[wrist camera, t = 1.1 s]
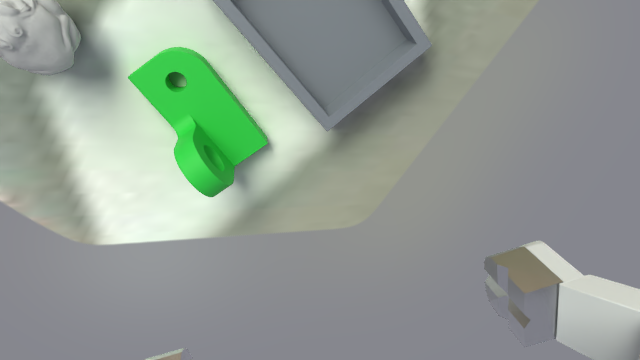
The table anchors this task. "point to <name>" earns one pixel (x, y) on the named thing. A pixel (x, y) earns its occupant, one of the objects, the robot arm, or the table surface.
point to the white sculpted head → (37, 36)
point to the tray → (330, 47)
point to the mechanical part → (200, 118)
